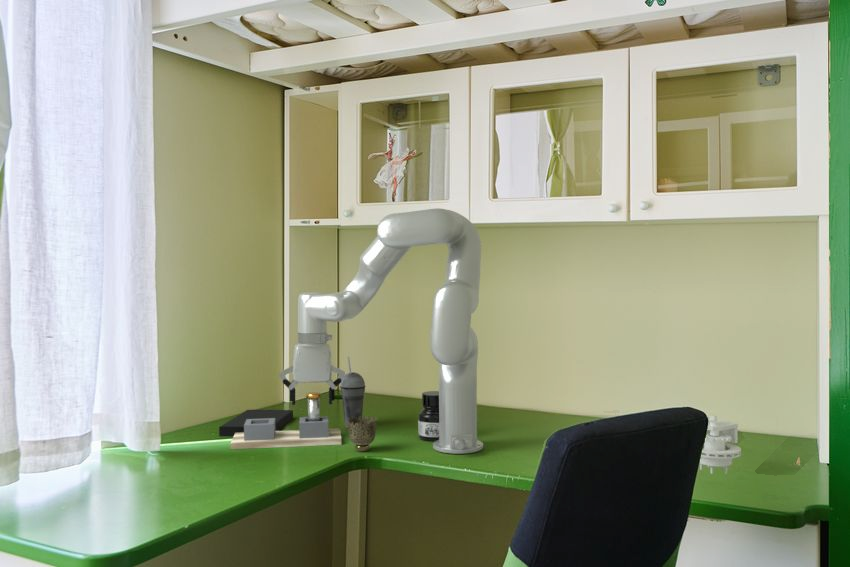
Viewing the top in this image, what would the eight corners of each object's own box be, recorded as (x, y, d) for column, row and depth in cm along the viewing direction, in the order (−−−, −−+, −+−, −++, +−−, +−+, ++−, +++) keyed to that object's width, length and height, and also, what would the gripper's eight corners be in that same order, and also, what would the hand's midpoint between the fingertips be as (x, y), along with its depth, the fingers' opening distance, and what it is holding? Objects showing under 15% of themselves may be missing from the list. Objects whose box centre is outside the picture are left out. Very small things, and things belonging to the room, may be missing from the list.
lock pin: (321, 435, 202) (320, 394, 201) (306, 436, 201) (306, 394, 201) (321, 432, 206) (320, 391, 205) (306, 433, 205) (306, 392, 205)
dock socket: (273, 439, 198) (273, 424, 198) (244, 440, 197) (243, 425, 197) (275, 432, 206) (275, 418, 206) (246, 434, 205) (246, 419, 204)
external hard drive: (219, 437, 209) (219, 426, 209) (247, 419, 232) (246, 409, 232) (270, 438, 208) (270, 427, 208) (293, 420, 231) (293, 410, 231)
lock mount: (328, 437, 200) (328, 422, 200) (299, 438, 199) (299, 423, 199) (328, 430, 208) (327, 416, 207) (300, 431, 207) (299, 417, 206)
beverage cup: (364, 429, 215) (363, 358, 214) (338, 429, 215) (337, 358, 215) (367, 424, 222) (366, 355, 222) (342, 424, 223) (341, 355, 222)
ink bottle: (412, 440, 202) (412, 395, 202) (422, 433, 211) (422, 389, 210) (448, 442, 199) (447, 397, 199) (457, 435, 208) (456, 391, 207)
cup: (372, 454, 188) (372, 422, 188) (343, 453, 189) (343, 421, 189) (380, 447, 195) (380, 416, 195) (352, 446, 197) (352, 415, 196)
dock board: (341, 444, 198) (341, 438, 198) (230, 449, 195) (230, 443, 195) (340, 433, 210) (339, 428, 210) (235, 438, 206) (235, 432, 206)
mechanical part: (701, 478, 166) (701, 423, 166) (678, 463, 178) (679, 412, 178) (751, 476, 167) (751, 422, 166) (726, 461, 179) (726, 411, 178)
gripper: (344, 337, 207) (344, 400, 208) (279, 337, 205) (279, 401, 206) (345, 340, 200) (345, 405, 201) (278, 341, 198) (278, 407, 198)
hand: (312, 403), depth 203 cm, fingers open, 9 cm apart
